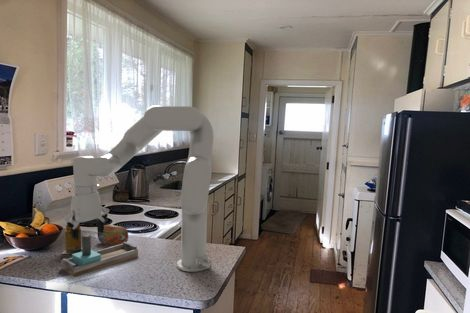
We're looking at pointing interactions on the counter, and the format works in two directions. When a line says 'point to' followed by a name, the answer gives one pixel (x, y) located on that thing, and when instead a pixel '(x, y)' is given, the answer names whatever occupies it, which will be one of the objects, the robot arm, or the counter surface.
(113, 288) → the counter surface
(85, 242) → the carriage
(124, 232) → the orange brown rounded block
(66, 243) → the condiment
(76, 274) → the rail board
